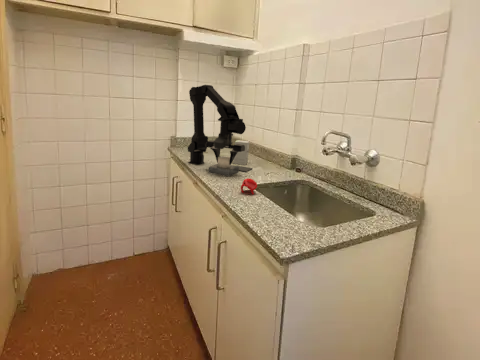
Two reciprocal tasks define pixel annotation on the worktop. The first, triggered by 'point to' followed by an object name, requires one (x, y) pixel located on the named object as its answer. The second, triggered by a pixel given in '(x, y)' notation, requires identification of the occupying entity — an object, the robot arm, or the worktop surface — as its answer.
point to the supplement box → (242, 153)
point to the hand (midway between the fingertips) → (224, 163)
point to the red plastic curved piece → (249, 185)
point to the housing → (223, 170)
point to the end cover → (224, 162)
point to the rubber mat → (244, 169)
